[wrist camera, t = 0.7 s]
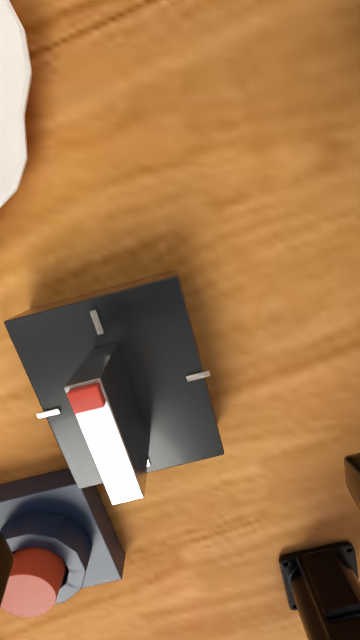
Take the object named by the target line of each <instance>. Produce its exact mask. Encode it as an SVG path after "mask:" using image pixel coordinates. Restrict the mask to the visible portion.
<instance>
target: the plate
mask: <svg viewBox="0 0 360 640" xmlns="http://www.w3.org/2000/svg"><path fill="white" fill-rule="evenodd" d="M31 79H32V67H31V62H30V56H29V50H28V44H27V38H26V32H25V30H24V28H23V26H22V24H21V22H20V20H19V18H18V16H17V14H16V12H15V11H14V9H13V7H12V5H11V3H10V1H9V0H0V208H1V207H2V206H3V205H4V204H5V203H6V202H7V201H8V200H9V199H10V197H11V196H12V195H13V194H14V193H15V192H16V191H17V190H18V188H19V185H20V182H21V179H22V175H23V172H24V169H25V166H26V163H27V160H28V154H27V139H26V125H25V113H26V107H27V101H28V96H29V90H30V84H31Z"/></svg>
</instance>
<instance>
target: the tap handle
mask: <svg viewBox="0 0 360 640" xmlns="http://www.w3.org/2000/svg"><path fill="white" fill-rule="evenodd" d="M64 390H65V392H66V394H67V397H68V399H69V402H70V404H71V406H72V409H73V411H74V414H75V416H76V419H77V421H78V423H79V426H80V428H81V431H82V433H83V435H84V438H85V440H86V443H87V445H88V447H89V450H90V452H91V455H92V457H93V460H94V462H95V464H96V467H97V469H98V472H99V474H100V476H101V479H102V481H103V484H104V486H105V488H106V491H107V493H108V496H109V498H110V501H111V503H112V505H116V504H120V503H124V502H128V501H133V500H137V499H141V498H144V493H145V483H146V474H147V464H148V454H149V445H150V433H149V430H148V427H147V424H146V421H145V418H144V415H143V412H142V409H141V406H140V403H139V400H138V397H137V394H136V392H135V389H134V386H133V383H132V380H131V377H130V374H129V371H128V368H127V365H126V362H125V359H124V356H123V353H122V350H121V347H120V344H119V342H116V343H113V344H109V345H105V346H101V347H97V348H93V349H92V350H91V351H90V353H89V354H88V355H87V357H86V358H85V359H84V361H83V362H82V364H81V365H80V366H79V368H78V369H77V370H76V372H75V373H74V374H73V376H72V377H71V379H70V380H69V381H68V383H67V384H66V385H65V387H64Z"/></svg>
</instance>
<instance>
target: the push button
mask: <svg viewBox="0 0 360 640" xmlns="http://www.w3.org/2000/svg"><path fill="white" fill-rule="evenodd" d="M64 574H65V563H64V561H63V559H62V558H60V557H59V556H57V555H56V554H54V553H53V552H51V551H49V550H46V549H40V548H34V547H30V548H25V549H21V550H18V551H17V552H15V553H14V554H13V566H12V569H11V573H10V576H9V579H8V583H7V586H6V590H5V593H4V596H3V600H2V603H1V608H2V609H4V610H5V611H7V612H9V613H11V614H14V615H17V616H23V617H33V616H38V615H42V614H44V613H46V612H48V611H49V610H50V609H51V608H52V607H53V606H54V604H55V602H56V599H57V596H58V593H59V590H60V587H61V584H62V580H63V577H64Z"/></svg>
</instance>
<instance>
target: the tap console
mask: <svg viewBox="0 0 360 640" xmlns="http://www.w3.org/2000/svg"><path fill="white" fill-rule="evenodd" d="M4 324H5V326H6V329H7V331H8V333H9V335H10V337H11V340H12V342H13V344H14V346H15V349H16V351H17V353H18V355H19V358H20V360H21V362H22V364H23V367H24V369H25V371H26V373H27V375H28V378H29V380H30V382H31V384H32V387H33V389H34V391H35V393H36V396H37V398H38V400H39V402H40V404H41V407H42V409H43V411H42V412H38V413H37V414H36V415H37V417H38V419H40V418H44V417H46V418H47V420H48V422H49V425H50V427H51V429H52V431H53V434H54V436H55V438H56V440H57V442H58V445H59V447H60V449H61V451H62V454H63V456H64V458H65V460H66V463H67V465H68V467H69V469H70V471H71V474H72V476H73V478H74V480H75V483H76V485H77V487H78V489H81V488H86V487H90V486H94V485H98V484H102V483H103V481H102V479H101V476H100V474H99V472H98V469H97V467H96V464H95V462H94V460H93V457H92V455H91V452H90V450H89V447H88V445H87V443H86V440H85V438H84V435H83V433H82V431H81V428H80V426H79V423H78V421H77V419H76V416H75V414H74V411H73V409H72V406H71V404H70V402H69V399H68V397H67V394H66V392H65V390H64V387H65V385H66V384H67V383H68V381H69V380H70V379H71V377H72V376H73V374H74V373H75V372H76V370H77V369H78V368H79V366H80V365H81V364H82V362H83V361H84V359H85V358H86V357H87V355H88V354H89V353H90V351H91V350H92V349H93V348H97V347H101V346H105V345H109V344H113V343H116V342H119V344H120V347H121V350H122V353H123V356H124V359H125V362H126V365H127V368H128V371H129V374H130V377H131V380H132V383H133V386H134V389H135V392H136V394H137V397H138V400H139V403H140V406H141V409H142V412H143V415H144V418H145V421H146V424H147V427H148V430H149V433H150V445H149V454H148V464H147V473H148V472H153V471H157V470H161V469H165V468H169V467H174V466H178V465H182V464H186V463H190V462H194V461H199V460H203V459H207V458H211V457H215V456H220V455H223V454H224V450H223V446H222V442H221V438H220V434H219V430H218V426H217V422H216V418H215V414H214V411H213V407H212V403H211V399H210V395H209V391H208V387H207V384H206V380H205V377H208V376H210V372H209V370H205V371H203V368H202V364H201V360H200V357H199V353H198V349H197V345H196V341H195V337H194V333H193V330H192V326H191V322H190V318H189V314H188V310H187V306H186V303H185V299H184V295H183V291H182V287H181V283H180V279H179V275H178V272H177V271H172V272H168V273H164V274H161V275H157V276H153V277H149V278H145V279H142V280H138V281H134V282H130V283H127V284H123V285H119V286H115V287H112V288H108V289H104V290H100V291H96V292H93V293H89V294H85V295H81V296H78V297H74V298H70V299H66V300H62V301H59V302H55V303H51V304H47V305H44V306H40V307H36V308H32V309H29V310H27V311H25V312H23V313H21V314H19V315H16V316H14V317H12V318H10V319H8V320H6V321H4Z"/></svg>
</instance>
